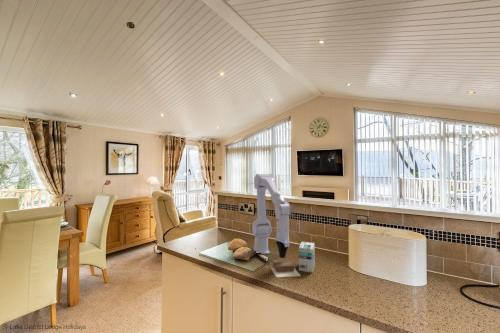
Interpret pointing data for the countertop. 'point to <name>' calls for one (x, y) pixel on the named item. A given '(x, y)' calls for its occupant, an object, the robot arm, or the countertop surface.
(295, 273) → the cream mat
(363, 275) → the countertop surface
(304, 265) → the light bulb box
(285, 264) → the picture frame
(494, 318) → the countertop surface
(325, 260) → the countertop surface
